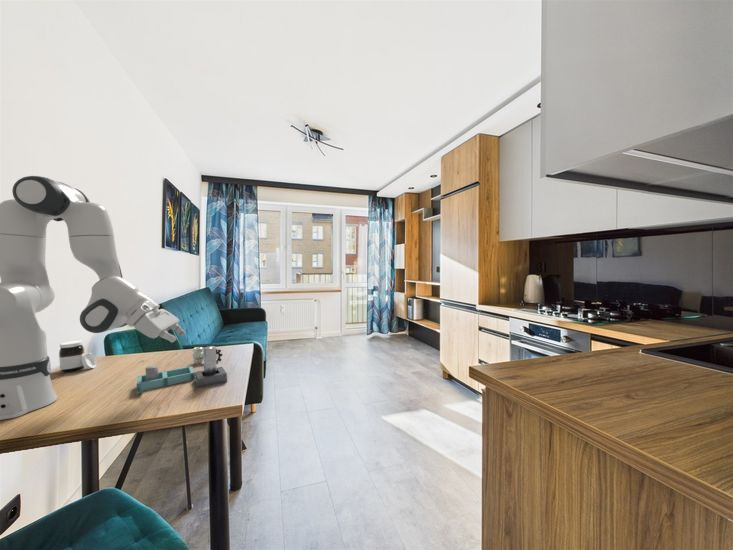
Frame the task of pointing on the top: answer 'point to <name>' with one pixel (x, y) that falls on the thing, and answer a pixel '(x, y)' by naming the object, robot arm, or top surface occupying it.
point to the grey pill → (209, 360)
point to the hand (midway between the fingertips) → (179, 337)
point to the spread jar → (75, 357)
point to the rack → (163, 377)
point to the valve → (199, 355)
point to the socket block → (210, 378)
